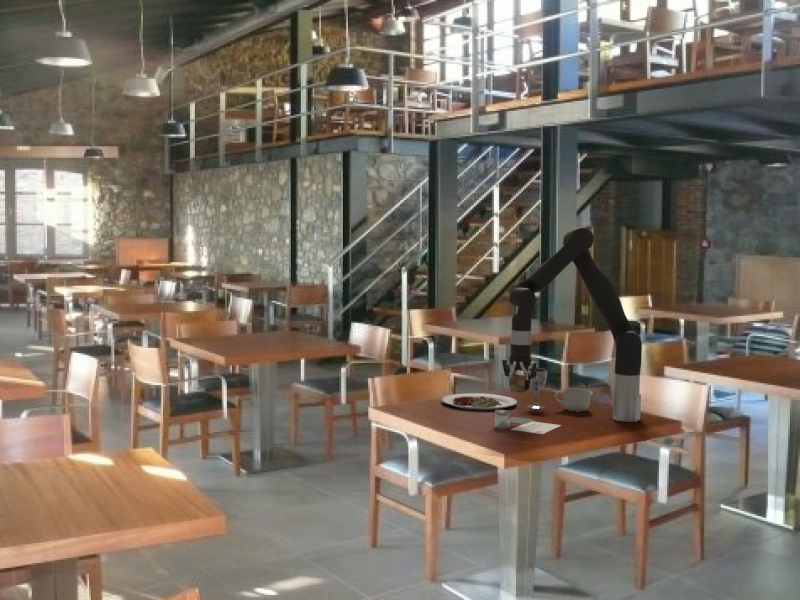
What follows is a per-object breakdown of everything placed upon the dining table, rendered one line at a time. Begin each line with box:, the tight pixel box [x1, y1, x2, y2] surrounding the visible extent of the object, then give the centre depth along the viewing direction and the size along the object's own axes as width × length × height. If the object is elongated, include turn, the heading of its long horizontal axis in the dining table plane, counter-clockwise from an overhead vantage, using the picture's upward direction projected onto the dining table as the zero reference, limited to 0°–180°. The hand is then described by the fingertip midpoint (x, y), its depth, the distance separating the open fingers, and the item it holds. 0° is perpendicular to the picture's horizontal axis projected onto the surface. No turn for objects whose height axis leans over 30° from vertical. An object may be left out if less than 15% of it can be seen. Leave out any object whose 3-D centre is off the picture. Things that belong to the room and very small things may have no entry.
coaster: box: [510, 416, 535, 425], centre depth 332 cm, size 9×9×1 cm
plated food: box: [441, 392, 518, 411], centre depth 364 cm, size 30×30×3 cm
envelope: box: [510, 420, 562, 435], centre depth 321 cm, size 12×17×1 cm
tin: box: [494, 409, 511, 430], centre depth 320 cm, size 5×5×6 cm
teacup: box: [554, 387, 592, 413], centre depth 355 cm, size 14×11×8 cm
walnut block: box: [509, 372, 530, 394], centre depth 331 cm, size 5×5×6 cm
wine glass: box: [526, 367, 548, 410], centre depth 359 cm, size 8×8×15 cm
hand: (519, 388), depth 331 cm, fingers closed on walnut block, 5 cm apart
